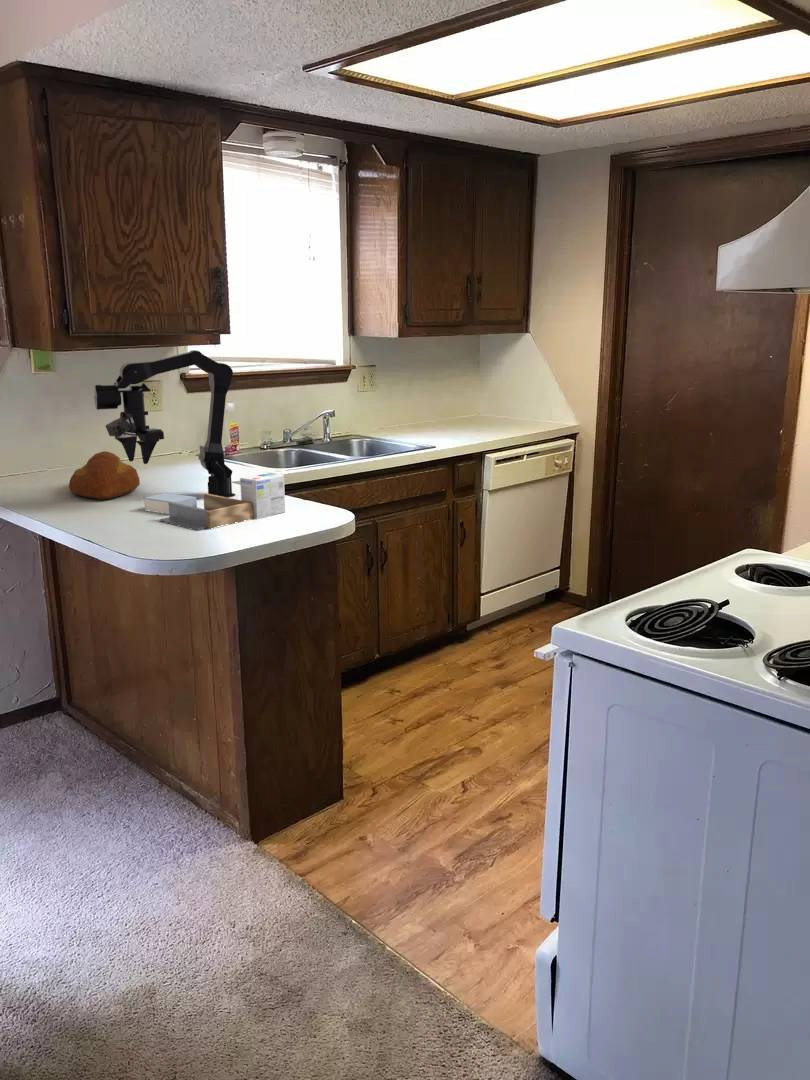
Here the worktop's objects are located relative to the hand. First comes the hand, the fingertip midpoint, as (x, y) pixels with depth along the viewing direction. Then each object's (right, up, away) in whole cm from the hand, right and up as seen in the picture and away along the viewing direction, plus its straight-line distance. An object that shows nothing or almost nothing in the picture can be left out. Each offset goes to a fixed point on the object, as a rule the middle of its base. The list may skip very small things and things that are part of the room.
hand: (138, 462), depth 247 cm
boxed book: (+11, -14, -5) cm, 19 cm away
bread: (-16, -8, +20) cm, 27 cm away
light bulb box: (+38, -15, -10) cm, 42 cm away
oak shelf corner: (+24, -17, -16) cm, 33 cm away
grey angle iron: (+19, -18, -22) cm, 34 cm away
